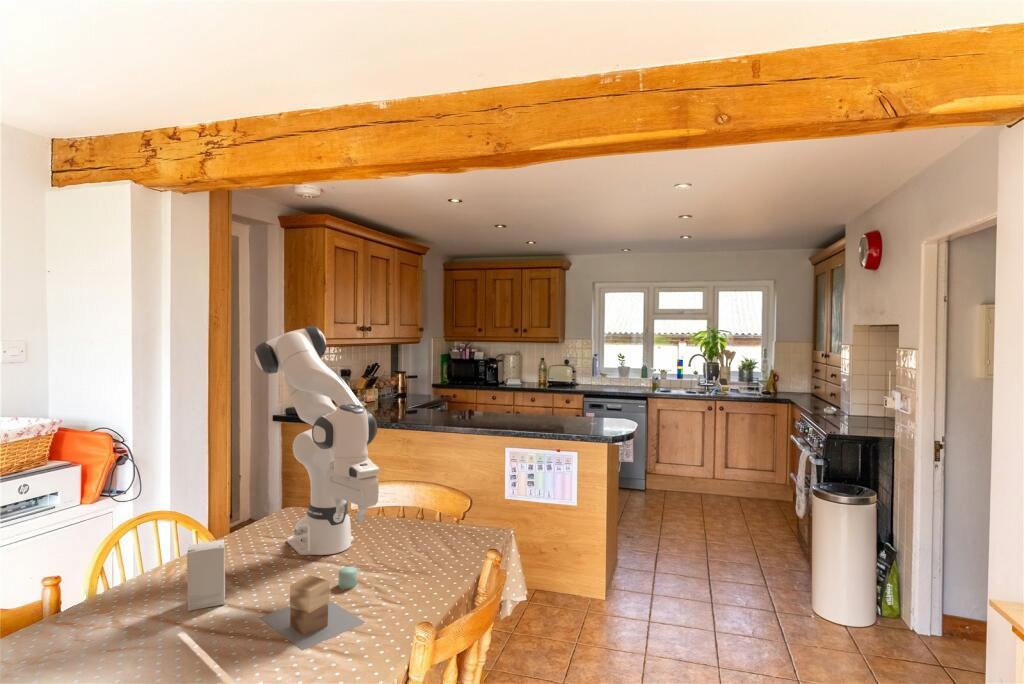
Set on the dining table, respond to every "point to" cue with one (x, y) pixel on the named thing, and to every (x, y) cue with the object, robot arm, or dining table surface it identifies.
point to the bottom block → (309, 620)
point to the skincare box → (206, 574)
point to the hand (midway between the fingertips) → (350, 516)
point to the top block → (309, 594)
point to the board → (337, 624)
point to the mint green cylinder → (347, 578)
